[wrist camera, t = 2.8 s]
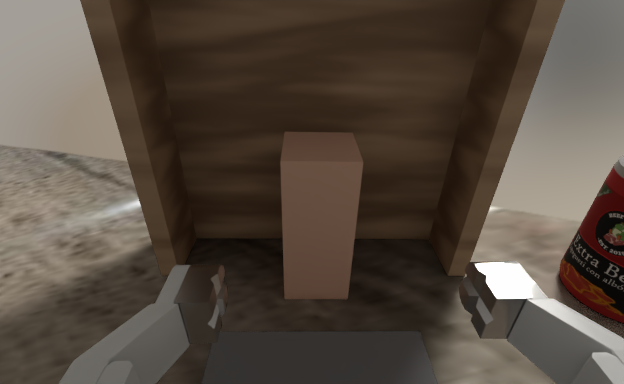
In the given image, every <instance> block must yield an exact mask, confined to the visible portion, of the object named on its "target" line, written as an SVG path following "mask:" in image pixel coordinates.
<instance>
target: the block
mask: <svg viewBox="0 0 624 384" xmlns="http://www.w3.org/2000/svg"><path fill="white" fill-rule="evenodd" d="M280 165H281V198H282V231H283V264H284V297H285V299H348V292H349V284H350V275H351V266H352V257H353V249H354V240H355V231H356V223H357V214H358V205H359V196H360V188H361V179H362V170H363V159H362V157H361V154H360V151H359V148H358V146H357V143H356V140H355V138H354V135H353V133H342V132H285V133H284V140H283V146H282V153H281V160H280Z"/></svg>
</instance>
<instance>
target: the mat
mask: <svg viewBox="0 0 624 384" xmlns="http://www.w3.org/2000/svg"><path fill="white" fill-rule="evenodd" d="M201 384H438V383H437V380H436V377H435V374H434V372H433V369H432V366H431V363H430V360H429V357H428V354H427V351H426V349H425V346H424V343H423V340H422V337H421V334H420V331H297V332H220V334H219V338H218V342H217V343H212V345H211V349H210V353H209V356H208V360H207V364H206V367H205V371H204V375H203V379H202V382H201Z"/></svg>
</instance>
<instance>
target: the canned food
mask: <svg viewBox="0 0 624 384" xmlns="http://www.w3.org/2000/svg"><path fill="white" fill-rule="evenodd" d="M560 278H561V280H562V283H563V284H564V286H565V287H566V288H567V290H568V291H569V292H570V293H571V294H572V295H573V296H574V297H576V298H577V299H578V300H579V301H581V302H582V303H583V304H585V305H586V306H588V307H589V308H591V309H592V310H594V311H596V312H598V313H600V314H602V315H604V316H606V317H608V318H611V319H613V320H616V321H619V322H622V323H624V155H622V156H621V157H620V158H619V160H618V161H617V162H616V163H615V164H614V166H613V168H612V170H611V172H610V173H609V175H608V176H607V178H606V180H605V182H604V184H603V185H602V187H601V189H600V191H599V193H598V194H597V197H596V198H595V200H594V202H593V204H592V205H591V207H590V209H589V211H588V213H587V215H586V217H585V218H584V220H583V222H582V224H581V226H580V227H579V229H578V231H577V233H576V235H575V237H574V238H573V240H572V242H571V244H570V246H569V248H568V249H567V251H566V253H565V255H564V257H563V259H562V260H561V264H560Z"/></svg>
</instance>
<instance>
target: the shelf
mask: <svg viewBox="0 0 624 384" xmlns="http://www.w3.org/2000/svg"><path fill="white" fill-rule="evenodd" d="M80 1H81V4H82V7H83V11H84V14H85V17H86V21H87V24H88V28H89V31H90V35H91V38H92V41H93V45H94V48H95V51H96V55H97V58H98V62H99V65H100V68H101V72H102V75H103V78H104V82H105V85H106V89H107V92H108V96H109V99H110V102H111V106H112V109H113V112H114V116H115V119H116V122H117V126H118V129H119V132H120V136H121V139H122V143H123V146H124V150H125V153H126V157H127V160H128V163H129V167H130V170H131V174H132V177H133V180H134V184H135V187H136V191H137V194H138V197H139V201H140V204H141V208H142V211H143V214H144V218H145V221H146V224H147V228H148V231H149V235H150V238H151V241H152V245H153V248H154V252H155V255H156V258H157V262H158V265H159V269H160V272H161V275H169V274H170V272H171V270H172V268H173V267H174V266H175V265H184V264H185V262H186V260H187V258H188V256H189V253H190V251H191V249H192V247H193V245H194V242H195V240H196V238H283V231H282V198H281V165H280V160H281V153H282V146H283V140H284V133H285V132H342V133H353V135H354V138H355V140H356V143H357V146H358V148H359V151H360V154H361V157H362V159H363V170H362V179H361V188H360V196H359V205H358V214H357V223H356V231H355V239H429V241H430V243H431V245H432V247H433V248H434V250H435V252H436V254H437V256H438V258H439V260H440V262H441V264H442V266H443V268H444V270H445V271H446V273H447V275H448V276H465V274H466V273H465V268H466V265H467V264H468V263H469V262H470V260H471V257H472V255H473V252H474V249H475V246H476V244H477V241H478V238H479V235H480V233H481V230H482V227H483V224H484V222H485V219H486V216H487V213H488V211H489V208H490V205H491V202H492V200H493V197H494V194H495V191H496V189H497V186H498V183H499V180H500V178H501V175H502V172H503V169H504V167H505V163H506V161H507V158H508V156H509V153H510V150H511V147H512V144H513V142H514V139H515V136H516V134H517V131H518V128H519V125H520V122H521V120H522V117H523V114H524V111H525V109H526V106H527V103H528V100H529V98H530V95H531V92H532V89H533V87H534V84H535V81H536V78H537V76H538V73H539V70H540V67H541V65H542V62H543V59H544V56H545V54H546V51H547V48H548V45H549V43H550V40H551V37H552V34H553V31H554V29H555V26H556V23H557V20H558V18H559V15H560V12H561V9H562V7H563V4H564V1H565V0H80Z"/></svg>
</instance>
